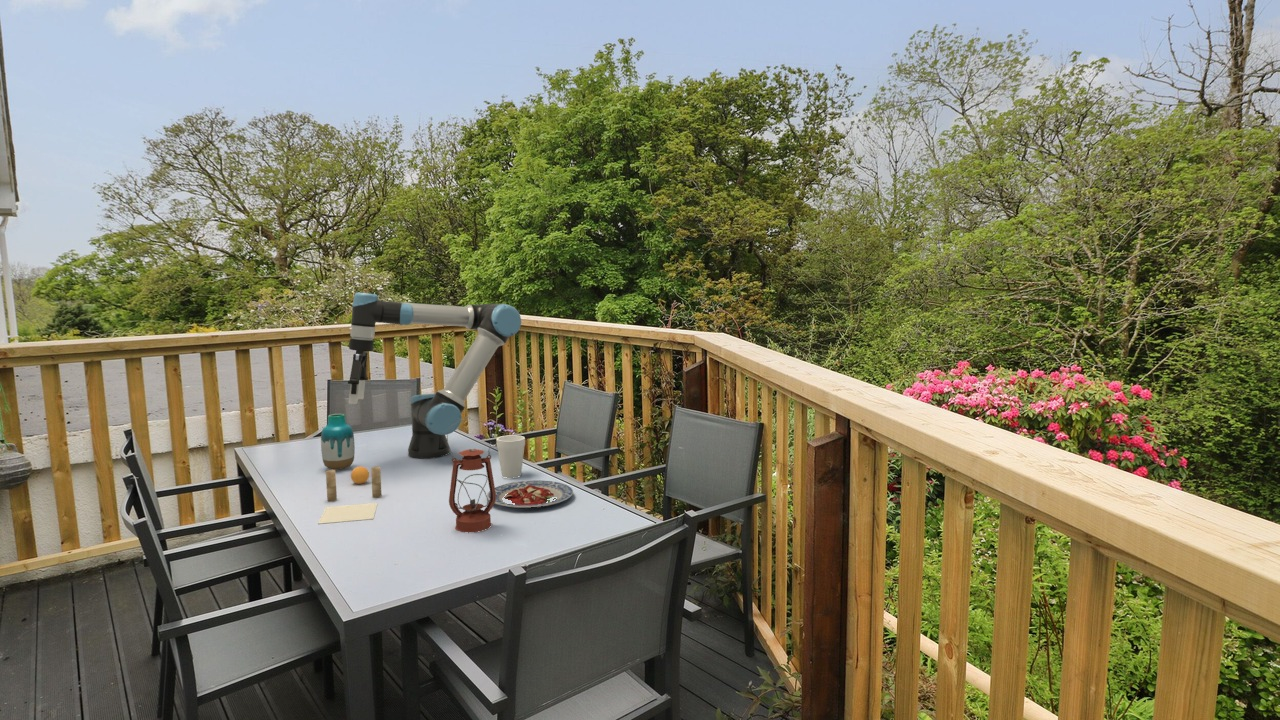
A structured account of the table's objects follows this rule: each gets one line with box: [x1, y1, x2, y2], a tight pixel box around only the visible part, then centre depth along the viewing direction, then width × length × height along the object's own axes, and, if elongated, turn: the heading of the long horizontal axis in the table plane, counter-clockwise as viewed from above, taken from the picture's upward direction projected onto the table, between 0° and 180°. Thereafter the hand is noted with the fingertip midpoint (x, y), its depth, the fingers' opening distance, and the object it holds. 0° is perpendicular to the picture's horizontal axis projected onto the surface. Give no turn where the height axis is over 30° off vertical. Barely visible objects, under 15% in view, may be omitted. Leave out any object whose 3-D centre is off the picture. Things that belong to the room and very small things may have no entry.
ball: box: [350, 466, 370, 485], centre depth 221 cm, size 6×6×6 cm
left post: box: [325, 469, 338, 502], centre depth 203 cm, size 3×3×9 cm
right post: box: [370, 466, 382, 499], centre depth 207 cm, size 3×3×9 cm
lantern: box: [446, 416, 496, 534], centre depth 181 cm, size 10×10×30 cm
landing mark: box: [317, 502, 378, 525], centre depth 192 cm, size 14×14×1 cm
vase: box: [320, 413, 356, 471], centre depth 237 cm, size 11×11×19 cm
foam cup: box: [495, 434, 526, 479], centre depth 229 cm, size 10×9×13 cm
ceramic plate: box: [486, 479, 574, 509], centre depth 206 cm, size 26×26×3 cm
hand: (356, 401), depth 229 cm, fingers open, 13 cm apart
